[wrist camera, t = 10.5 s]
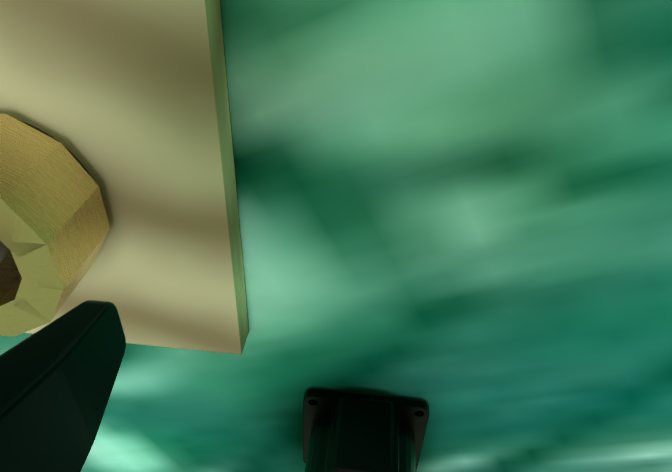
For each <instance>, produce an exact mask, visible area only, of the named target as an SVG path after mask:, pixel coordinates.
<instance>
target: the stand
mask: <svg viewBox="0 0 672 472" xmlns="http://www.w3.org/2000/svg"><path fill="white" fill-rule="evenodd" d="M0 114H8V115H10V116H11V117H13V118H15V119H17V120H19V121H21V122H23V123H25V124H26V125H28V126H30V127H32V128H34V129H36V130H38V131H40V132H41V133H43V134H45V135H47V136H49V137H51V138H53V139H55V140H56V141H58V142H60V143H62V145H63V146H64V147H65V148H66V149H67V150H68V151H69V153H70V154H71V155H72V156H73V157H74V158H75V159H76V161H77V162H78V163H79V164H80V165H81V166H82V167H83V169H84V170H85V171H86V172H87V173H88V174H89V175H90V177H91V178H92V179H93V180H94V181H95V182H96V183H97V185H98V186H99V189H100V193H101V196H102V200H103V204H104V207H105V211H106V215H107V219H108V222H109V226H110V230H109V232H108V234H107V237H106V239H105V241H104V243H103V245H102V248H101V250H100V252H99V254H98V257H97V259H96V261H95V262H94V263H93V265H92V266H91V267H90V269H89V270H88V271H87V273H86V274H85V275H84V277H83V278H82V280H81V281H80V282H79V284H78V285H77V286H76V288H75V289H74V290H73V292H72V293H71V295H70V296H69V297H68V299H67V300H66V301H65V303H64V304H63V305H62V307H61V308H60V309H59V311H58V312H57V314H56V315H55V316H54V318H53V319H52V320H51V322H53V321H54V320H56V319H57V318H59V317H60V316H62V315H64V314H65V313H67V312H68V311H70V310H71V309H73V308H74V307H76V306H78V305H79V304H81V303H82V302H84V301H87V300H97V301H108V302H112V303H114V304H115V306H116V307H117V310H118V313H119V317H120V320H121V324H122V327H123V330H124V334H125V338H126V343H133V344H143V345H152V346H162V347H172V348H182V349H192V350H202V351H212V352H222V353H231V354H242V351H243V348H244V345H245V342H246V338H247V335H248V332H249V326H248V315H247V303H246V292H245V281H244V269H243V258H242V247H241V235H240V224H239V213H238V201H237V190H236V179H235V167H234V156H233V145H232V133H231V122H230V111H229V99H228V88H227V76H226V65H225V54H224V42H223V31H222V20H221V8H220V0H0ZM10 252H11V251H10V249H9V248H8V247H6V246H5V245H4V244H3V243H2V242H1V241H0V263H1V262H2V261H3V260H4V259H5V257H6V256H7V255H8V254H9V253H10ZM51 322H50V323H51ZM50 323H47V324H45V325H42V326H39V327H37V328H34V329H32V330H29V331H27V332H24V333H36V332H37V331H39V330H40V329H42V328H43V327H45V326H47V325H48V324H50Z"/></svg>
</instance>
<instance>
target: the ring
mask: <svg viewBox="0 0 672 472" xmlns="http://www.w3.org/2000/svg"><path fill="white" fill-rule="evenodd" d="M109 230H110V226H109V222H108V219H107V215H106V211H105V207H104V204H103V200H102V196H101V193H100V189H99V186H98V185H97V183H96V182H95V181H94V180H93V179H92V178H91V177H90V175H89V174H88V173H87V172H86V171H85V170H84V169H83V167H82V166H81V165H80V164H79V163H78V162H77V161H76V159H75V158H74V157H73V156H72V155H71V154H70V153H69V151H68V150H67V149H66V148H65V147H64V146H63V145H62V143H60V142H58V141H56V140H55V139H53V138H51V137H49V136H47V135H45V134H43V133H41V132H40V131H38V130H36V129H34V128H32V127H30V126H28V125H26V124H25V123H23V122H21V121H19V120H17V119H15V118H13V117H11V116H10V115H8V114H0V241H1V242H2V243H3V244H4V245H5V246H6V247H8V248H9V249H10V251H11V252H10V253H9V254H8V255H7V256H6V257H5V259H4V260H3V261H2V262H1V263H0V335H3V336H13V337H14V336H17V335H19V334H22V333H24V332H27V331H29V330H32V329H34V328H37V327H39V326H42V325H45V324H47V323H50V322H51V320H52V319H53V318H54V316H55V315H56V314H57V312H58V311H59V309H60V308H61V307H62V305H63V304H64V303H65V301H66V300H67V299H68V297H69V296H70V295H71V293H72V292H73V290H74V289H75V288H76V286H77V285H78V284H79V282H80V281H81V280H82V278H83V277H84V275H85V274H86V273H87V271H88V270H89V269H90V267H91V266H92V265H93V263H94V262H95V261H96V259H97V257H98V254H99V252H100V250H101V248H102V245H103V243H104V241H105V239H106V237H107V234H108V232H109Z"/></svg>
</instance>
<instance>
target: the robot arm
mask: <svg viewBox="0 0 672 472" xmlns="http://www.w3.org/2000/svg"><path fill="white" fill-rule="evenodd" d="M125 348H126V338H125V334H124V330H123V327H122V324H121V320H120V317H119V313H118V310H117V307H116V306H115V304H114V303H112V302H108V301H97V300H87V301H84V302H82V303H81V304H79V305H78V306H76V307H74V308H73V309H71V310H70V311H68V312H67V313H65V314H64V315H62V316H60V317H59V318H57V319H56V320H54V321H53V322H51V323H50V324H48V325H47V326H45V327H43V328H42V329H40V330H39V331H37V332H36V333H34V334H33V335H31V336H30V337H28V338H26V339H25V340H23V341H22V342H20V343H19V344H17V345H16V346H14V347H13V348H11V349H9V350H8V351H6V352H5V353H3V354H2V355H0V472H80V471H81V469H82V467H83V465H84V463H85V461H86V458H87V456H88V454H89V452H90V449H91V447H92V445H93V442H94V440H95V437H96V434H97V432H98V429H99V426H100V423H101V420H102V417H103V414H104V411H105V409H106V406H107V403H108V400H109V397H110V394H111V391H112V388H113V385H114V382H115V379H116V376H117V373H118V370H119V368H120V365H121V362H122V359H123V356H124V353H125ZM428 417H429V406H428V404H427V403H425V402H422V401H414V400H405V399H395V398H385V397H376V396H366V395H357V394H347V393H338V392H328V391H318V390H309V391H307V392H306V393H305V395H304V401H303V460H304V462H305V463H306V467H305V472H416V469H417V465H418V461H419V456H420V452H421V448H422V443H423V439H424V435H425V430H426V426H427V422H428Z"/></svg>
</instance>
